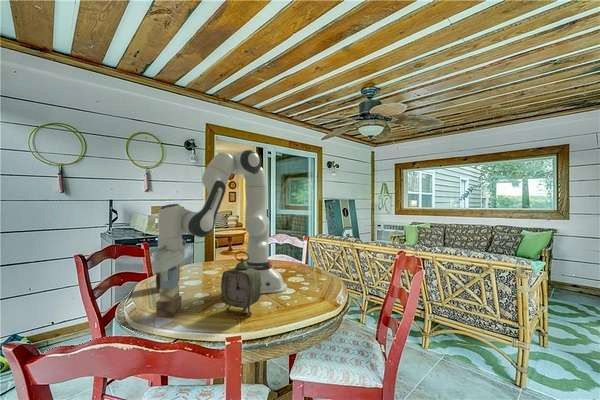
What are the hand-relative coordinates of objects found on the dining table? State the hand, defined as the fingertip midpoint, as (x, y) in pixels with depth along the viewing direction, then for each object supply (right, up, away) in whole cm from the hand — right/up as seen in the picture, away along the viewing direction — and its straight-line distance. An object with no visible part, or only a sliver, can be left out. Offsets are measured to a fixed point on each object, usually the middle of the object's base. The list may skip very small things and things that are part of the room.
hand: (169, 278), depth 114 cm
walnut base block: (0, -15, 0) cm, 15 cm away
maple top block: (0, -9, 0) cm, 9 cm away
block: (-16, -14, +33) cm, 39 cm away
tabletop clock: (+29, -15, +2) cm, 32 cm away
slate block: (0, -4, 0) cm, 4 cm away
